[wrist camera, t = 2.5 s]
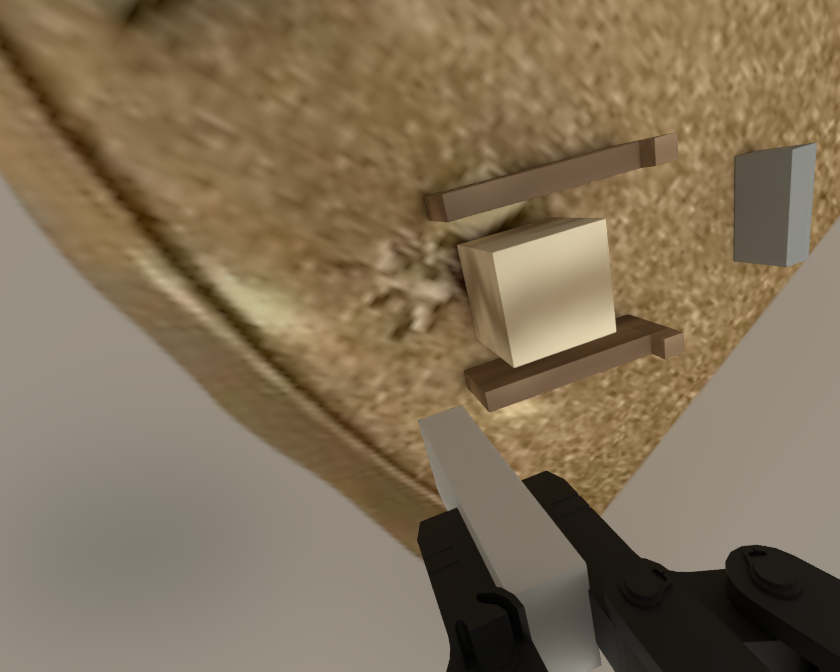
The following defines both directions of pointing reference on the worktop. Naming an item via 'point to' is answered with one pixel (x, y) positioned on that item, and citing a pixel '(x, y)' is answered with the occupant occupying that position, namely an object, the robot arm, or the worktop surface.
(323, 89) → the worktop surface
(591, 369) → the chute
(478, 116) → the worktop surface
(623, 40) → the worktop surface
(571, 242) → the block
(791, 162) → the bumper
